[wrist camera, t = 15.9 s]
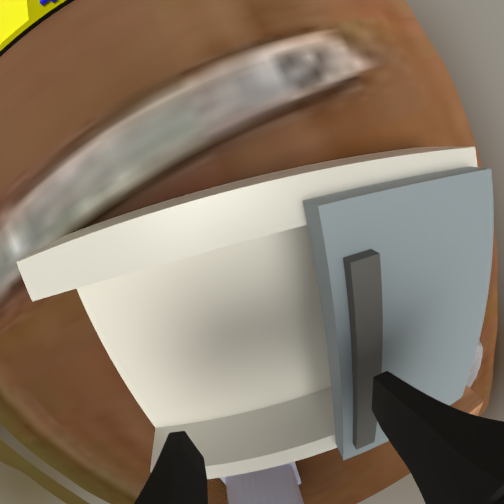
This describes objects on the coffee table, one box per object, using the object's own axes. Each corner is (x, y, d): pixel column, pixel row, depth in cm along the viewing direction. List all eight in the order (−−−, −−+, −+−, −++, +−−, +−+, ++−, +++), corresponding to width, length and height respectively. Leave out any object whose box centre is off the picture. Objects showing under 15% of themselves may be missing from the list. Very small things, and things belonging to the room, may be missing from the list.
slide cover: (450, 385, 16) (466, 401, 14) (335, 443, 15) (346, 466, 13) (469, 166, 11) (499, 169, 9) (302, 200, 11) (324, 208, 9)
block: (453, 402, 21) (473, 424, 17) (423, 422, 20) (443, 447, 17) (459, 378, 19) (483, 401, 16) (428, 399, 19) (451, 426, 15)
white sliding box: (421, 353, 22) (455, 386, 17) (166, 432, 20) (162, 482, 15) (417, 147, 16) (474, 146, 11) (65, 235, 15) (16, 262, 10)
